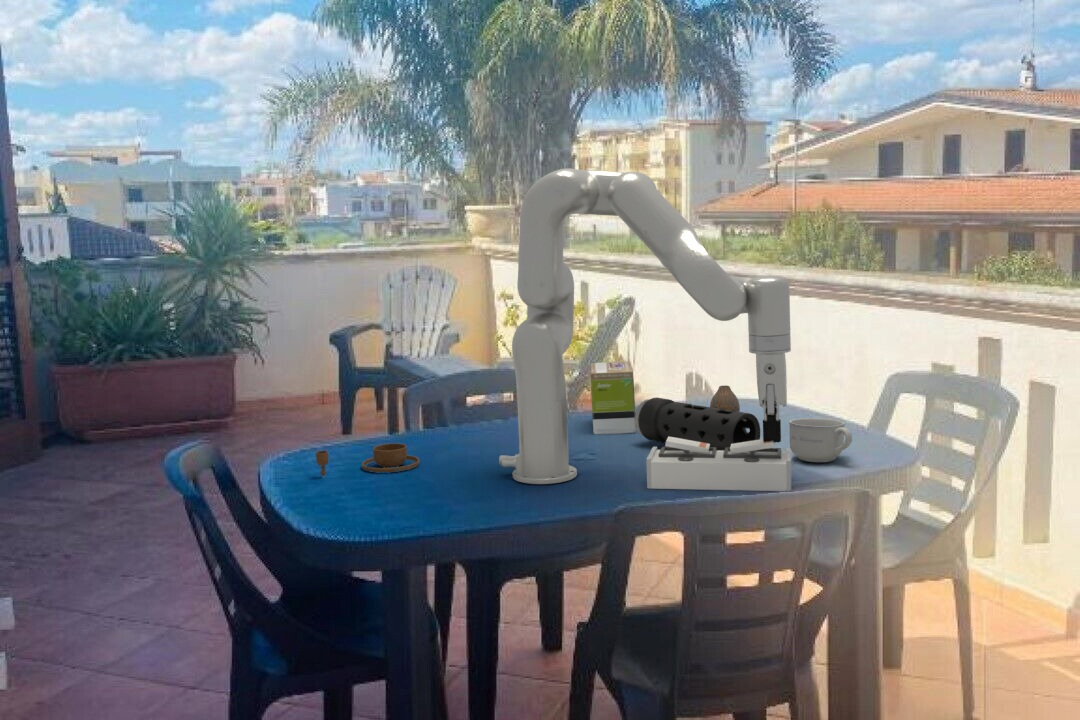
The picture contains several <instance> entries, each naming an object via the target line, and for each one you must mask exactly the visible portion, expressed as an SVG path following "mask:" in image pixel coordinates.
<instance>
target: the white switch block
mask: <svg viewBox="0 0 1080 720" xmlns="http://www.w3.org/2000/svg"><path fill="white" fill-rule="evenodd" d="M645 460H646V488H647V489H656V490H658V489H662V490H700V491H701V490H705V491H707V490H710V491H755V492H757V491H758V492H759V491H760V492H761V491H762V492H768V491H769V492H786V491H785V490H791V491H792V451H791V448H790V447H786V450H782V448H781V447H774V448H767V449H761V450H756V453H755V454H751V453H750V452H749V451H747V452H741V453H734V454H731V452H730V447H725V450H724V451H723V450H717V447H709V451H708V454H706V453H700V452H695V451H689V453H684V451H683V449H678V448H673V447H667V446H662V447H661V448H660V449H658V446H652V448H651V449H650V451H649V452H648V454H647V457H646V459H645Z"/></svg>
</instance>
